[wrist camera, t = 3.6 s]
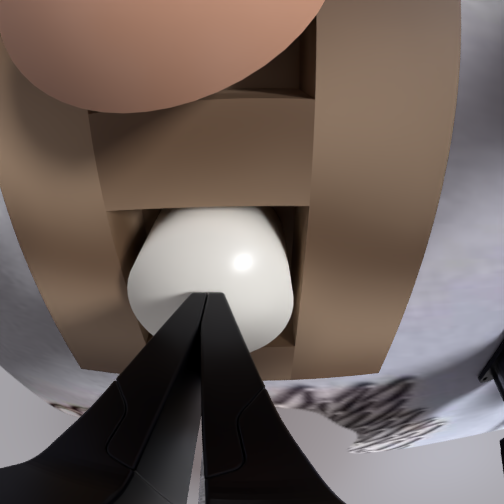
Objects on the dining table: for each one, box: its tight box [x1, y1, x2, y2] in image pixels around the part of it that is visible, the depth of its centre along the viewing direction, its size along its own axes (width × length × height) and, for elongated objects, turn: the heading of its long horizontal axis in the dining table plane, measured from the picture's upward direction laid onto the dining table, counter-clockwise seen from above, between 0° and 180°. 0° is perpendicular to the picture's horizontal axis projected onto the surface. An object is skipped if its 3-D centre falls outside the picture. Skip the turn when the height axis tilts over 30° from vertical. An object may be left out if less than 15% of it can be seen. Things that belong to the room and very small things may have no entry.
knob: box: [127, 206, 293, 352], centre depth 10 cm, size 4×4×3 cm
